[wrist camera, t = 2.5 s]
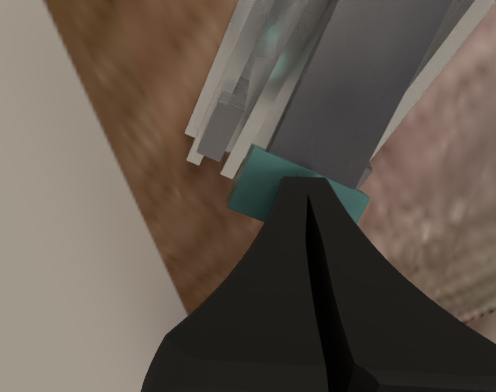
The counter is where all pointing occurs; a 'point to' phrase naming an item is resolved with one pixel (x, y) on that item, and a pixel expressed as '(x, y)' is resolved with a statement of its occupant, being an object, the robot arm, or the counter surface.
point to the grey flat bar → (341, 101)
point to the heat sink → (290, 74)
